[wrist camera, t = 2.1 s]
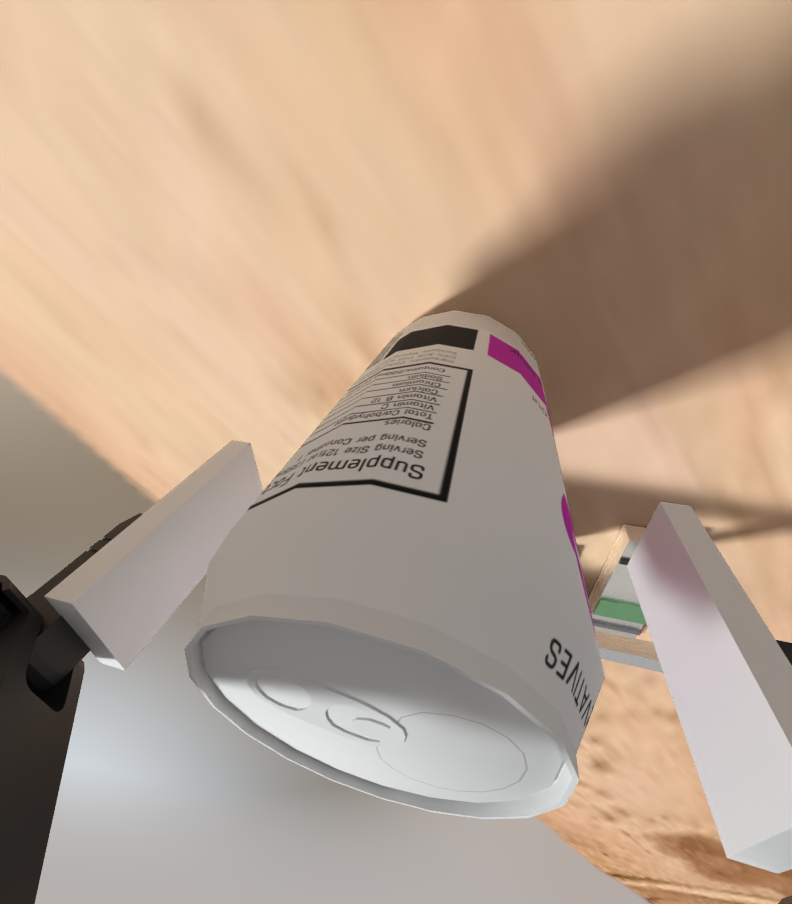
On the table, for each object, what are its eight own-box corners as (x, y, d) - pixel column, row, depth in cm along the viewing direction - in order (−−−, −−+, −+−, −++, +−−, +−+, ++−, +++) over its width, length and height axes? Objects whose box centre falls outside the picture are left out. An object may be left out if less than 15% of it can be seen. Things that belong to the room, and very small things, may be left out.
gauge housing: (324, 477, 24) (247, 594, 17) (684, 533, 20) (786, 722, 13) (340, 586, 31) (289, 704, 23) (614, 645, 26) (655, 813, 19)
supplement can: (576, 342, 16) (794, 766, 4) (496, 478, 21) (484, 852, 9) (402, 281, 16) (110, 496, 4) (364, 428, 21) (177, 722, 9)
